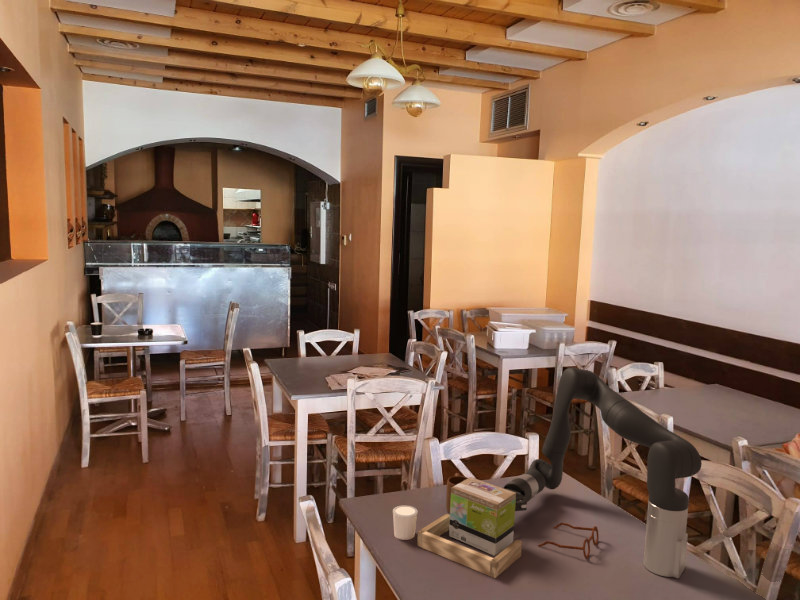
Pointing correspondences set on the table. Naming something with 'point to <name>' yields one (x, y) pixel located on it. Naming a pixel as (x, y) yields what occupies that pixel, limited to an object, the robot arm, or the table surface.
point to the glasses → (574, 546)
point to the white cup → (404, 522)
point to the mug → (451, 483)
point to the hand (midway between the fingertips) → (492, 509)
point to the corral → (466, 550)
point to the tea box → (482, 515)
